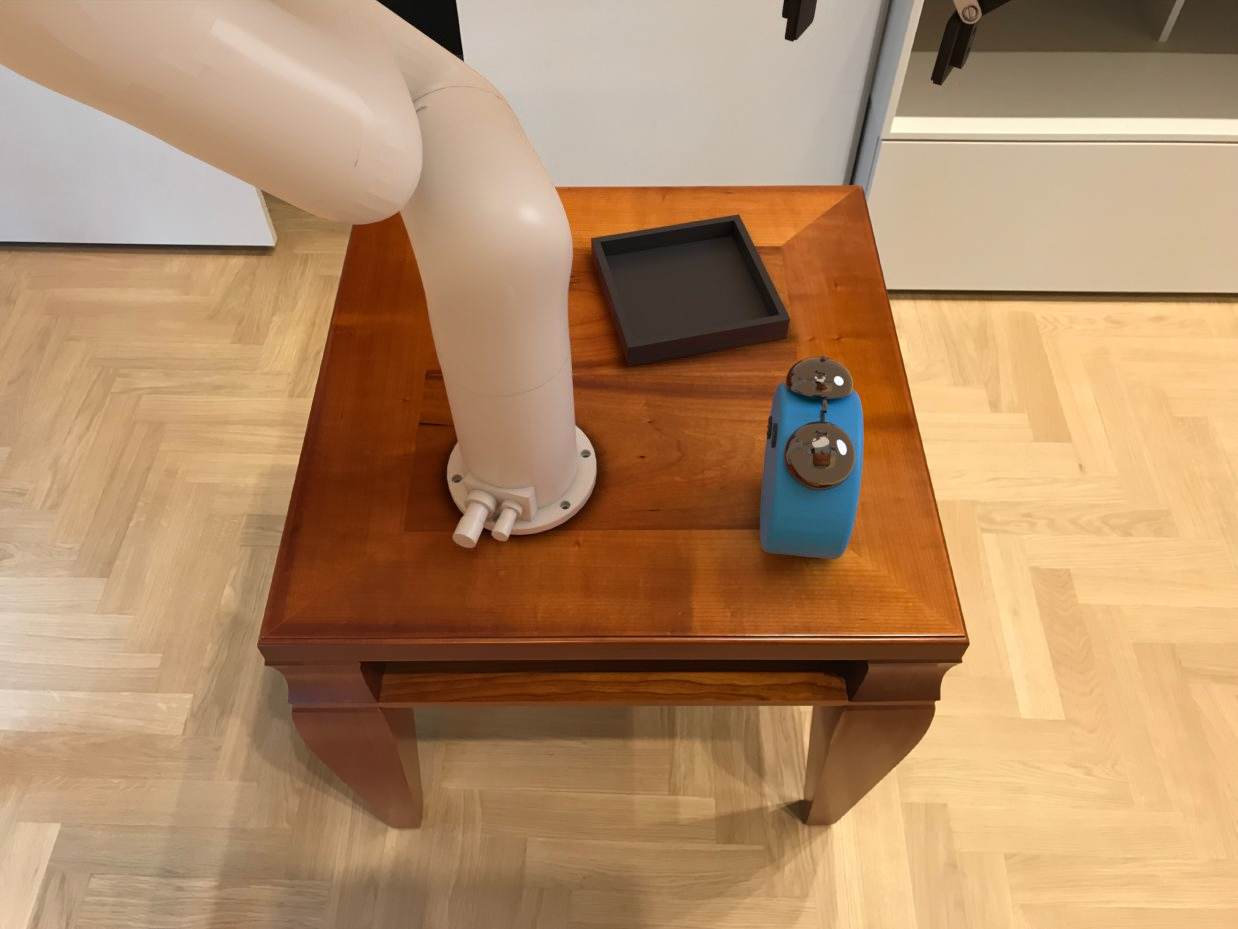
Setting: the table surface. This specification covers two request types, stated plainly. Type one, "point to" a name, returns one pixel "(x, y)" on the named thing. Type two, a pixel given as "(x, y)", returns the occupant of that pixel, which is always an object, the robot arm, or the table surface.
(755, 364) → the table surface
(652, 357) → the tray
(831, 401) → the alarm clock
